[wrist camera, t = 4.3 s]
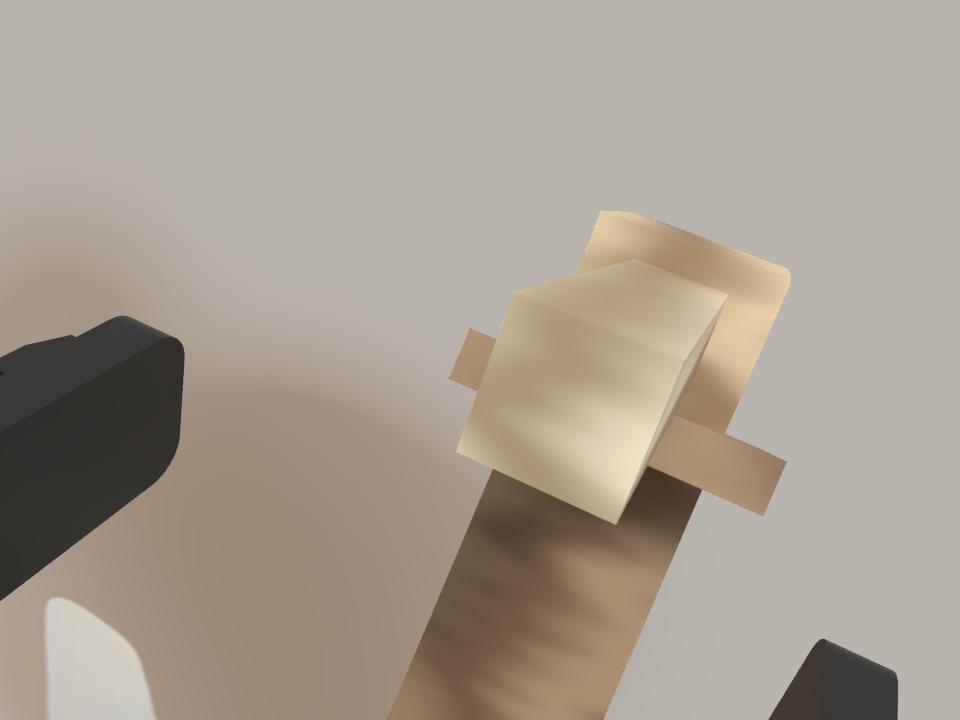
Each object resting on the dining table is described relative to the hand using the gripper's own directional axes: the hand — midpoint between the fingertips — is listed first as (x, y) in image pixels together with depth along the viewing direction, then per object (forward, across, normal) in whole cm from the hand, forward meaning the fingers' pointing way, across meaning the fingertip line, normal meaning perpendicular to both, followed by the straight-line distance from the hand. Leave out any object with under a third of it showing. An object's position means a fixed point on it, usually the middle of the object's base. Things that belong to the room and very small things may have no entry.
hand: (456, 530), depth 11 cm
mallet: (+14, 0, +6) cm, 15 cm away
